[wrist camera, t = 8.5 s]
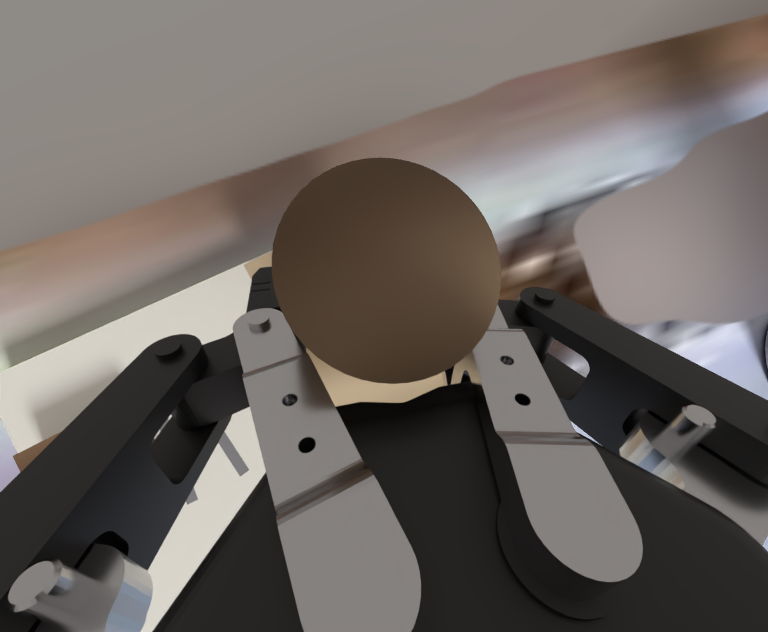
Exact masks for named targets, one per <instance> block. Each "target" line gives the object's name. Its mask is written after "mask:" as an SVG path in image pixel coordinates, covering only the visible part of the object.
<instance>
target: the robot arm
mask: <svg viewBox="0 0 768 632" xmlns="http://www.w3.org/2000/svg"><path fill="white" fill-rule="evenodd" d="M554 339H556V340H558V341H559V342H561V343H562V344H564V345H566V346H567V347H569V348H570V349H572V350H574V351H575V352H577V353H578V354H580V355H582V356H583V357H584V358H585V359H586V360H587V362H588V363H589V366H590V371H589V374H588V375H587V377H586V378H585V377H583V376H582V375H580V374H579V373H577V372H576V371H574V370H573V369H571V368H570V367H568V366H567V365H565V364H564V363H562V362H561V361H559V360H558V359H556V358H555V357H553V356H552V355H550V354H549V353H548V352H549V350H550V348H551V345H552V343H553V341H554ZM765 354H766V363H767V367H768V332H767V335H766V344H765ZM442 378H443V384H444V386H441V387H438V388H435V389H433V390H431V391H429V392H427V393H424V394H422V395H420V396H418V397H416V398H413V399H411V400H409V401H407V402H403V403H386V402H357V403H352V404H347V405H342V406H336V407H335V405H334V403H333V401H332V399H331V397H330V395H329V393H328V391H327V389H326V387H325V385H324V383H323V381H322V379H321V377H320V375H319V374H318V372H317V370H316V368H315V366H314V364H313V362H312V360H311V358H310V356H309V354H308V353H307V352H306V347H305V346H304V344H303V343H302V342H301V341H300V340H299V338H298V337H297V336H296V335H295V334H294V332H293V331H292V329H291V327H290V326H289V324H288V323H287V321H286V319H285V317H284V315H283V313H282V311H281V308H280V306H279V304H278V300H277V297H276V294H275V290H274V285H273V278H272V267H262V268H259V269H258V270H257V271H256V272H255V274H254V275H253V276H252V282H251V287H250V293H249V299H248V305H247V310H246V313H245V314H243V315H242V316H240V317H239V318H238V319H237V320H236V321H235V323H234V324H233V333H231V334H230V335H228V336H226V337H223V338H221V339H218V340H215V341H212V342H209V343H206V344H203V345H202V343H201V341H200V339H199V338H197V337H196V336H194V335H190V334H178V335H172V336H168V337H165V338H163V339H160V340H158V341H156V342H154V343H153V344H151V345H150V346H148V347H147V348H146V349H145V350H143V351H142V352H141V353H140V354H139V355H138V356H137V357H136V358H135V359H134V360H133V361H132V362H131V363H130V364H129V365H128V366H127V367H126V368H125V369H124V370H123V371H122V372H121V373H120V374H119V375H118V376H117V377H116V378H115V379H114V380H113V381H112V382H111V383H110V384H109V385H108V386H107V387H106V388H105V389H104V390H103V391H102V392H101V393H100V394H99V395H98V396H97V397H96V398H95V399H94V400H93V401H92V402H91V403H90V404H89V405H88V406H87V407H86V408H85V409H84V410H83V411H82V412H81V413H80V414H79V415H78V416H77V417H76V418H75V419H74V420H73V421H72V422H71V423H70V424H69V425H68V426H67V427H66V428H65V429H64V430H63V431H62V432H61V433H60V434H59V435H58V436H57V437H56V438H55V439H54V440H53V441H52V442H51V443H50V444H49V445H48V446H47V447H46V448H45V449H44V450H43V451H42V452H41V453H40V454H39V455H38V456H37V457H36V458H35V459H34V460H33V461H32V462H31V463H30V464H29V465H28V466H27V467H26V468H25V469H24V470H23V471H22V472H21V473H20V474H19V475H18V476H17V477H16V478H15V479H13V480H12V481H11V482H10V483H9V484H8V485H7V486H6V487H5V488H4V489H3V490H2V491H1V492H0V632H141V630H142V628H143V626H144V624H145V621H146V616H147V612H148V610H149V607H150V603H151V600H152V593H153V583H152V579H151V576H150V574H149V573H148V569H149V567H150V566H151V564H152V562H153V560H154V558H155V556H156V555H157V553H158V551H159V549H160V547H161V546H162V544H163V542H164V540H165V538H166V536H167V535H168V533H169V531H170V529H171V527H172V526H173V524H174V522H175V520H176V518H177V517H178V515H179V513H180V511H181V509H182V507H183V506H184V504H185V502H186V500H187V498H188V497H189V495H190V493H191V491H192V489H193V487H194V486H195V484H196V482H197V480H198V478H199V477H200V475H201V473H202V471H203V469H204V468H205V466H206V464H207V462H208V460H209V458H210V457H211V455H212V453H213V451H214V449H215V448H216V446H217V444H218V442H219V440H220V438H221V437H222V435H223V433H224V431H225V429H226V428H227V426H228V424H229V422H230V420H231V417H232V414H235V413H237V412H239V411H241V410H243V409H246V408H248V407H250V410H251V414H252V418H253V422H254V426H255V430H256V434H257V438H258V442H259V446H260V450H261V454H262V458H263V462H264V466H265V470H266V472H265V474H264V475H263V477H262V478H261V480H260V481H259V482H258V484H257V485H256V487H255V488H254V489H253V491H252V492H251V494H250V495H249V496H248V498H247V499H246V501H245V502H244V503H243V505H242V506H241V508H240V509H239V511H238V512H237V513H236V515H235V516H234V518H233V519H232V520H231V522H230V523H229V525H228V526H227V527H226V529H225V530H224V532H223V533H222V534H221V536H220V537H219V539H218V540H217V541H216V543H215V544H214V546H213V547H212V548H211V550H210V551H209V553H208V554H207V555H206V557H205V558H204V560H203V561H202V562H201V564H200V565H199V567H198V568H197V569H196V571H195V572H194V574H193V575H192V576H191V578H190V579H189V581H188V582H187V583H186V585H185V586H184V588H183V589H182V591H181V592H180V593H179V595H178V596H177V598H176V599H175V600H174V602H173V603H172V605H171V606H170V607H169V609H168V610H167V612H166V613H165V614H164V616H163V617H162V619H161V620H160V621H159V623H158V624H157V626H156V627H155V628H154V630H153V631H152V632H768V551H767V550H766V549H765V548H764V547H763V546H762V545H763V543H764V541H765V539H766V538H767V536H768V400H766V399H764V398H762V397H760V396H758V395H756V394H754V393H752V392H750V391H748V390H746V389H744V388H742V387H740V386H738V385H736V384H734V383H733V382H731V381H729V380H727V379H725V378H723V377H721V376H719V375H717V374H715V373H713V372H711V371H709V370H707V369H705V368H703V367H701V366H699V365H698V364H696V363H694V362H692V361H690V360H688V359H686V358H684V357H682V356H680V355H678V354H676V353H674V352H672V351H670V350H668V349H666V348H664V347H662V346H661V345H659V344H657V343H655V342H653V341H651V340H649V339H647V338H645V337H643V336H641V335H639V334H637V333H635V332H633V331H631V330H629V329H627V328H625V327H624V326H622V325H620V324H618V323H616V322H614V321H612V320H610V319H608V318H606V317H604V316H602V315H600V314H598V313H596V312H594V311H592V310H590V309H589V308H587V307H585V306H583V305H581V304H579V303H577V302H575V301H573V300H571V299H569V298H567V297H565V296H563V295H561V294H559V293H557V292H555V291H553V290H550V289H546V288H541V287H530V288H526V289H524V290H522V291H521V293H520V296H519V299H518V301H512V300H498V304H497V308H496V311H495V314H494V317H493V319H492V321H491V324H490V326H489V328H488V329H487V331H486V333H485V334H484V336H483V338H482V339H481V340H480V341H479V343H478V344H477V345H476V346H475V348H474V349H473V350H472V351H471V352H470V353H469V354H468V355H467V356H466V357H465V358H464V359H462V360H461V361H460V362H458V363H457V364H455V365H454V366H453V367H451V368H449V369H447V370H446V371H444V372H442ZM170 415H172V417H171V418H170V420H169V421H168V422H167V424H166V425H165V426H164V428H163V429H162V431H161V432H160V433H159V435H158V436H157V437H156V439H155V440H154V442H153V443H152V441H153V439H154V437H155V435H156V434H157V432H158V431H159V430H160V428H161V427H162V426H163V424H164V423H165V422H166V420H167V419H168V418H169V416H170ZM570 421H572V422H573V423H574V424H575V425H577V426H578V427H579V428H580V429H582V430H583V431H584V432H586V433H587V434H588V435H589V436H591V437H592V438H593V439H594V440H596V441H597V442H598V443H599V444H601V445H602V446H601V445H599V444H598V443H596V442H594V441H592V440H590V439H588V438H587V437H585V436H583V435H581V434H579V433H577V432H576V431H575V429H574V428H573V426H572V424H571V422H570Z"/></svg>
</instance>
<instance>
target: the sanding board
mask: <svg viewBox="0 0 768 632" xmlns="http://www.w3.org/2000/svg"><path fill="white" fill-rule="evenodd" d="M271 252H273V250H271V251H269V252H267V253H265V254H262V255H260V256H258V257H256V258H253V259H251V260H249V261H247V262H244V263H242V264H240V265H238V266H236V267H233V268H231V269H229V270H227V271H224V272H222V273H220V274H218V275H216V276H213V277H211V278H209V279H207V280H204V281H202V282H200V283H198V284H195V285H193V286H191V287H189V288H187V289H184V290H182V291H180V292H178V293H175V294H173V295H171V296H169V297H166V298H164V299H162V300H160V301H158V302H155V303H153V304H151V305H149V306H146V307H144V308H142V309H140V310H138V311H135V312H133V313H131V314H129V315H126V316H124V317H122V318H120V319H117V320H115V321H113V322H111V323H109V324H106V325H104V326H102V327H100V328H97V329H95V330H93V331H91V332H88V333H86V334H84V335H82V336H80V337H77V338H75V339H73V340H71V341H68V342H66V343H64V344H62V345H60V346H57V347H55V348H53V349H51V350H48V351H46V352H44V353H42V354H39V355H37V356H35V357H33V358H31V359H28V360H26V361H24V362H22V363H19V364H17V365H15V366H13V367H10V368H8V369H6V370H4V371H2V372H0V418H1V420H2V422H3V424H4V426H5V428H6V430H7V432H8V434H9V436H10V438H11V441H12V443H13V445H14V447H15V449H16V451H17V453H20V452H22V451H24V450H26V449H28V448H30V447H32V446H34V445H36V444H38V443H39V442H41V441H43V440H45V439H47V438H49V437H51V436H53V435H55V434H57V433H59V432H61V431H63V430H64V429H65V428H66V427H67V426H68V425H69V424H70V423H71V422H72V421H73V420H74V419H75V418H76V417H77V416H78V415H79V414H80V413H81V412H82V411H83V410H84V409H85V408H86V407H87V406H88V405H89V404H90V403H91V402H92V401H93V400H94V399H95V398H96V397H97V396H98V395H99V394H100V393H101V392H102V391H103V390H104V389H105V388H106V387H107V386H108V385H109V384H110V383H111V382H112V381H113V380H114V379H115V378H116V377H117V376H118V375H119V374H120V373H121V372H122V371H123V370H124V369H125V368H126V367H127V366H128V365H129V364H130V363H131V362H132V361H133V360H134V359H135V358H136V357H137V356H138V355H139V354H140V353H141V352H142V351H143V350H145V349H146V348H147V347H148V346H150V345H151V344H153V343H154V342H156V341H158V340H160V339H163V338H165V337H168V336H172V335H178V334H190V335H194V336H196V337H197V338H199V339H200V341H201V343H202V345H203V344H206V343H209V342H212V341H215V340H218V339H221V338H223V337H226V336H228V335H230V334H231V333H233V324H234V323H235V321H236V320H237V319H238V318H239V317H240V316H242V315H243V314H245V313H246V310H247V305H248V299H249V293H250V287H251V282H252V280H251V278H250V276H249V274H248V272H247V271H246V269H245V267H244V264H246V263H249V262H251V261H253V260H255V259H257V258H260V257H262V256H264V255H266V254H269V253H271ZM171 417H172V415H170V416H169V418H168V419H167V420H166V422H165V423H164V424H163V426H162V427H161V428H160V430H159V431H158V432H157V434H156V435H155V437H154V439H156V437H157V436H158V435H159V433H160V432H161V431H162V429H163V428H164V426H165V425H166V424H167V422H168V421H169V420H170V418H171ZM265 472H266V470H265V466H264V462H263V458H262V454H261V450H260V446H259V442H258V438H257V434H256V430H255V426H254V422H253V418H252V414H251V410H250V407H248V408H246V409H243V410H241V411H239V412H237V413H235V414H232V417H231V420H230V422H229V424H228V426H227V428H226V429H225V431H224V433H223V435H222V437H221V438H220V440H219V442H218V444H217V446H216V448H215V449H214V451H213V453H212V455H211V457H210V458H209V460H208V462H207V464H206V466H205V468H204V469H203V471H202V473H201V475H200V477H199V478H198V480H197V482H196V484H195V486H194V487H193V489H192V491H191V493H190V495H189V497H188V498H187V500H186V502H185V504H184V506H183V507H182V509H181V511H180V513H179V515H178V517H177V518H176V520H175V522H174V524H173V526H172V527H171V529H170V531H169V533H168V535H167V536H166V538H165V540H164V542H163V544H162V546H161V547H160V549H159V551H158V553H157V555H156V556H155V558H154V560H153V562H152V564H151V566H150V567H149V569H148V573H149V574H150V576H151V579H152V583H153V593H152V600H151V603H150V607H149V610H148V612H147V616H146V621H145V624H144V626H143V628H142V630H141V632H152V631H153V630H154V628H155V627H156V626H157V624H158V623H159V621H160V620H161V619H162V617H163V616H164V614H165V613H166V612H167V610H168V609H169V607H170V606H171V605H172V603H173V602H174V600H175V599H176V598H177V596H178V595H179V593H180V592H181V591H182V589H183V588H184V586H185V585H186V583H187V582H188V581H189V579H190V578H191V576H192V575H193V574H194V572H195V571H196V569H197V568H198V567H199V565H200V564H201V562H202V561H203V560H204V558H205V557H206V555H207V554H208V553H209V551H210V550H211V548H212V547H213V546H214V544H215V543H216V541H217V540H218V539H219V537H220V536H221V534H222V533H223V532H224V530H225V529H226V527H227V526H228V525H229V523H230V522H231V520H232V519H233V518H234V516H235V515H236V513H237V512H238V511H239V509H240V508H241V506H242V505H243V503H244V502H245V501H246V499H247V498H248V496H249V495H250V494H251V492H252V491H253V489H254V488H255V487H256V485H257V484H258V482H259V481H260V480H261V478H262V477H263V475H264V474H265Z"/></svg>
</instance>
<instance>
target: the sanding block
mask: <svg viewBox="0 0 768 632" xmlns="http://www.w3.org/2000/svg"><path fill="white" fill-rule="evenodd" d="M244 267H245V269H246V271H247V272H248V274H249V276H250V278H251V280H252V276H253V275H254V274H255V272H256V271H257V270H258V269H259V268H262V267H272V278H273V285H274V290H275V294H276V297H277V300H278V304H279V306H280V308H281V311H282V313H283V315H284V317H285V319H286V321H287V323H288V324H289V326H290V327H291V329H292V331H293V332H294V334H295V335H296V336H297V337H298V338H299V340H300V341H301V342H302V343H303V344H304V346H305V347H306V352H307V353H308V354H309V356H310V358H311V360H312V362H313V364H314V366H315V368H316V370H317V372H318V374H319V375H320V377H321V379H322V381H323V383H324V385H325V387H326V389H327V391H328V393H329V395H330V397H331V399H332V401H333V403H334V405H335V407H336V406H342V405H347V404H352V403H357V402H386V403H403V402H407V401H409V400H411V399H413V398H416V397H418V396H420V395H422V394H424V393H427V392H429V391H431V390H433V389H435V388H438V387H441V386H444V384H443V378H442V372H444V371H446V370H447V369H449V368H451V367H453V366H454V365H455V364H457V363H458V362H460V361H461V360H462V359H464V358H465V357H466V356H467V355H468V354H469V353H470V352H471V351H472V350H473V349H474V348H475V346H476V345H477V344H478V343H479V341H480V340H481V339H482V338H483V336H484V334H485V333H486V331H487V329H488V328H489V326H490V324H491V321H492V319H493V317H494V314H495V311H496V308H497V304H498V300H499V294H500V287H501V268H500V258H499V254H498V250H497V245H496V242H495V240H494V237H493V234H492V231H491V229H490V227H489V225H488V223H487V222H486V220H485V218H484V216H483V215H482V213H481V212H480V210H479V209H478V207H477V206H476V205H475V204H474V202H473V201H472V200H471V199H470V198H469V197H468V196H467V195H466V194H465V193H464V192H463V191H462V190H461V189H460V188H459V187H458V186H457V185H455V184H454V183H453V182H451V181H450V180H449V179H447V178H446V177H444V176H442V175H440V174H439V173H437V172H435V171H433V170H431V169H429V168H427V167H424V166H422V165H419V164H416V163H412V162H409V161H404V160H399V159H392V158H368V159H361V160H356V161H351V162H348V163H345V164H342V165H339V166H336V167H334V168H332V169H330V170H328V171H326V172H324V173H323V174H321V175H320V176H318V177H317V178H315V179H314V180H312V181H311V182H310V183H309V184H308V185H307V186H306V187H304V188H303V189H302V190H301V191H300V192H299V194H298V195H297V196H296V197H295V198H294V199H293V201H292V202H291V204H290V205H289V207H288V208H287V210H286V212H285V213H284V215H283V217H282V220H281V222H280V224H279V226H278V229H277V233H276V236H275V240H274V244H273V252H271V253H269V254H266V255H264V256H262V257H260V258H257V259H255V260H253V261H251V262H249V263H246V264H244Z"/></svg>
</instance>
